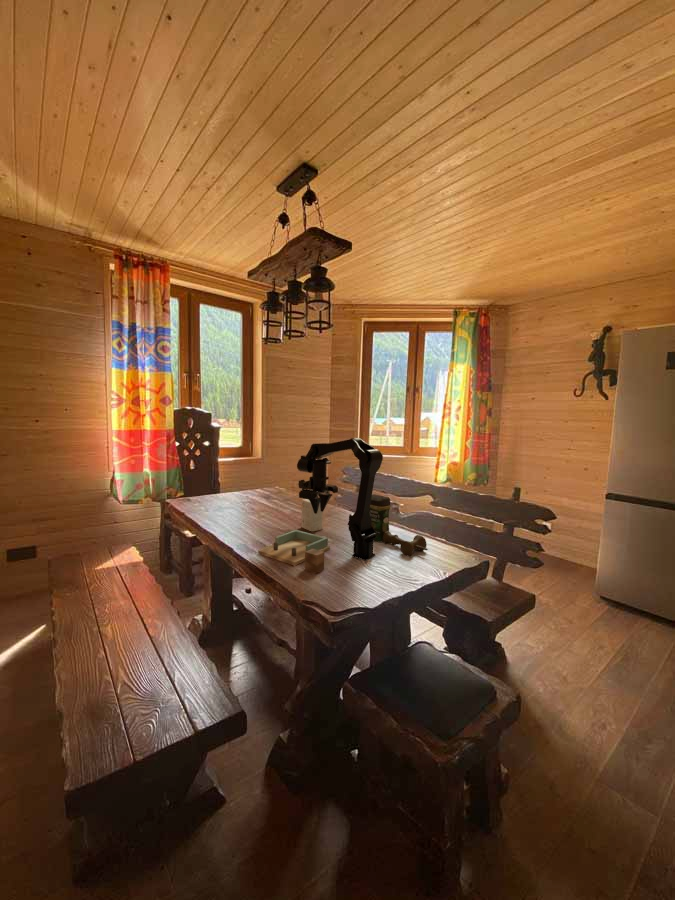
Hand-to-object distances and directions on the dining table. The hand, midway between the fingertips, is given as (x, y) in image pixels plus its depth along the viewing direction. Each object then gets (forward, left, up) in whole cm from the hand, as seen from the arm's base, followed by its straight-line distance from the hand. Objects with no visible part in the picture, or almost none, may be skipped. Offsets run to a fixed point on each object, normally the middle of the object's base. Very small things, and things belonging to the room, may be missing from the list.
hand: (318, 512), depth 151 cm
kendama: (-32, -14, -12) cm, 37 cm away
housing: (0, +10, -11) cm, 15 cm away
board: (0, +14, -12) cm, 19 cm away
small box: (+13, -12, -12) cm, 21 cm away
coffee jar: (-17, -18, -12) cm, 28 cm away
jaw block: (-16, +22, -12) cm, 30 cm away
